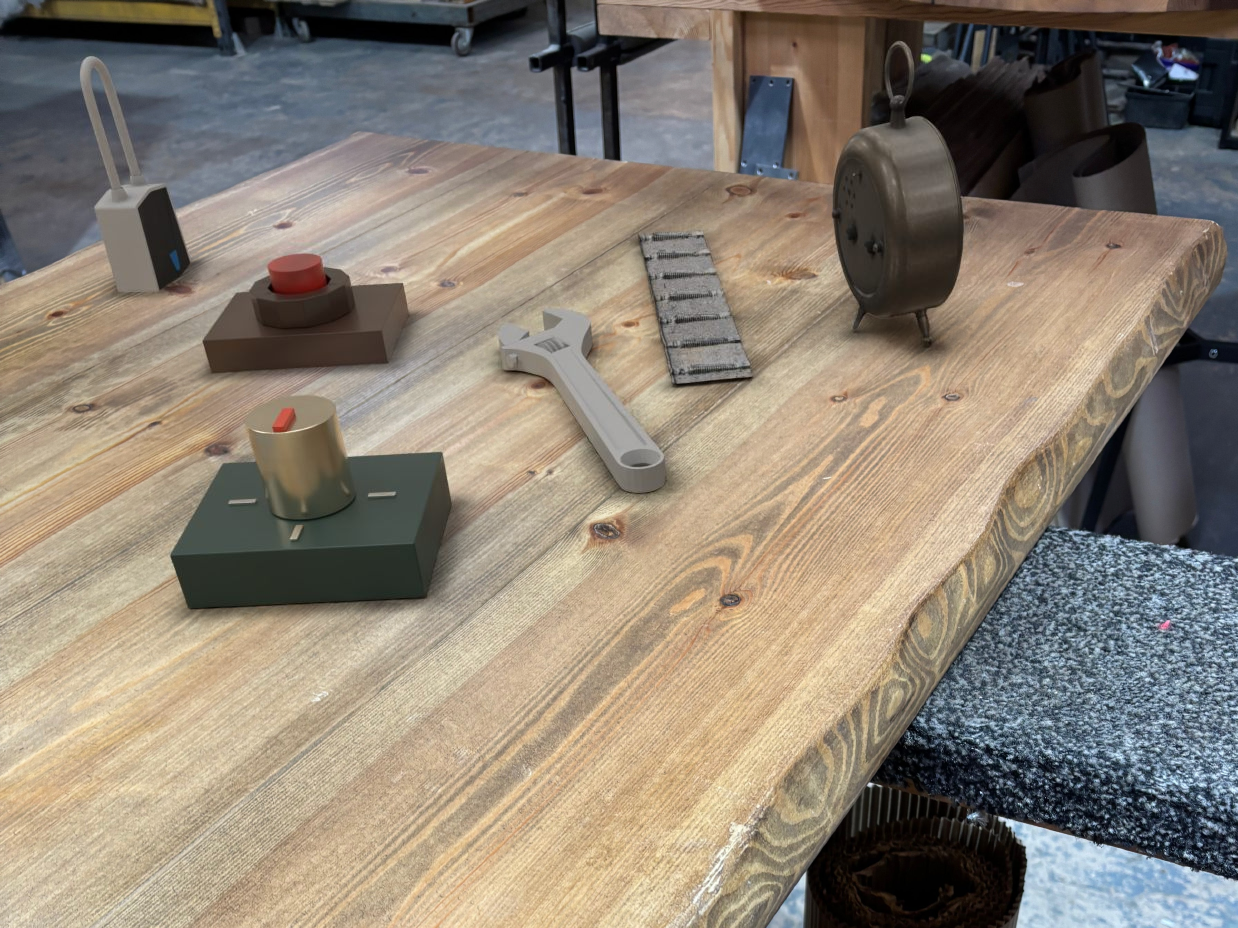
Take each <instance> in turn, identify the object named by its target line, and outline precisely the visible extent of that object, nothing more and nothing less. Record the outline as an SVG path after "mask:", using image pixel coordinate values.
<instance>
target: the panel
mask: <svg viewBox="0 0 1238 928" xmlns="http://www.w3.org/2000/svg"><path fill="white" fill-rule="evenodd" d="M347 457H348V462H349V466H350V470H351V475H352V479H353V483H354V487H355V497H354V499H353V501H352V502H351V503H350V504H349V505H347V506H346V507H345V508H343V509H341V510H339V511H337V512H335V513H333V514H330V515H327V516H323V517H319V518H314V519H305V520H293V519H285V518H281V517H279V516H276V515H275V514H273V513H272V512H271V511H270V509H269V507H268V503H267V500H266V496H265V493H264V489H263V486H262V482H261V478H260V475H259V471H258V468H257V464H256V461H240V462H239V461H238V462H237V461H236V462H223V463H222V464H221V466H220V467H219V469H218V471H217V472H216V474H215V476H214V478H213V479H212V481H211V483H210V484H209V487H208V488H207V490H206V492H205V493H204V495H203V496H202V499H201V500H200V502H199V503H198V505H197V507H196V509H195V511H194V512H193V514H192V515H191V518H190V519H189V521H188V523H187V525H186V526H185V528H184V530H183V531H182V533H181V535H180V536H179V538H178V540H177V542H176V544H175V545H174V547H173V549H172V550H171V552H170V554H169V557H170V560H171V563H172V566H173V569H174V571H175V574H176V577H177V581H178V584H179V586H180V588H181V592H182V594H183V598H184V600H185V603H186V606H187V608H188V609H204V608H225V607H227V608H228V607H246V606H270V605H271V606H272V605H286V604H287V605H288V604H289V605H291V604H311V603H313V604H314V603H331V602H332V603H333V602H352V601H353V602H355V601H374V600H375V601H376V600H377V601H378V600H398V599H399V600H400V599H419V598H426V596H427V592H428V589H429V584H430V581H431V578H432V574H433V571H434V567H435V565H436V559H437V557H438V553H439V549H440V545H441V542H442V539H443V535H444V531H445V528H446V524H447V520H448V518H449V513H450V511H451V506H452V502H453V501H452V496H451V492H450V486H449V480H448V474H447V469H446V463H445V459H444V453H443V451H429V452H410V453H409V452H408V453H391V454H390V453H389V454H374V455H373V454H371V455H355V456H354V455H353V456H352V455H351V456H347Z"/></svg>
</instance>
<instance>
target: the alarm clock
mask: <svg viewBox="0 0 1238 928" xmlns="http://www.w3.org/2000/svg"><path fill="white" fill-rule="evenodd" d="M897 49H902V50H903V53H904V55H905V57H906V60H907V67H908V68H907V69H908V85H907V90H906V93H905V96H904V95H900V94H897V95H894V94H893V91H892V87H891V80H890V65H891V62H892V61H891V60H892V58H893V55H894V54H895V51H896V50H897ZM914 82H915V63H914V58H913V54H912V51H911V49H910V47H909V46H908V45H907V44H906V43H905V41H901V40H897V41H895V42H894V43H893V44H892V45H891V46H890V48H889V49H888V51H887V53H886V58H885V62H884V85H885V89H886V93H887V96H888V99H889V100H890V101H889V107H890V109H891V112H890V120H889V122H886V123H882V124H876V125H871V126H868V127H865V128H864V127H863V128H861V129H859V130H858V131H856V132H854V134H853V135H851V136H850V138H849V139H848V140H847V142H846V143H845V144H844V147H843V149H842V150H841V152H840V155H839V158H838V161H837V164H836V168H835V173H834V177H833V178H834V179H833V187H832V211H831V219H832V222H833V230H834V239H835V245H836V249H837V254H838V259H839V263H840V266H841V269H842V272H843V275H844V278H845V282H846V283H847V285H848V288H849V290H850V291H851V293H852V295H853V297H854V299H855V300H856V301H857V305H858V306H859V307H858V309H857V313H856V316H855V319H854V321H853V324H852V327H851V329H852V331H853V332H855V331H857V330H858V328H859V327H860V324H861V323H862V320H863V319H864V317H865V316H866V314H868V315H871V316H873V317H874V318H878V319H883V320H887V319H893V318H897V317H902V316H905V315H910V314H914V316H915V319H916V323H917V327H918V329H919V332H920V333H921V335H922V339H921V344H922V346H923V347H925V348H927V347H930V346H932V344H933V338H932V337H931V328H930V327H931V326H930V321H929V317H928V314H927V313H928V312H927V311H928V310H930V309H936V308H939V307H941V306H942V305H944V303H945V302H946V301H947V300H948V299H949V297H950V296H951V294H952V292H953V290H954V288H955V286H956V283H957V280H958V278H959V273H960V269H961V263H962V257H963V249H964V234H965V226H964V225H965V224H964V223H965V222H964V210H963V201H962V194H961V187H960V183H959V178H958V177H959V176H958V174H957V169H956V165H955V162H954V160H953V157H952V155H951V151H950V149H949V147H948V146H947V142H946V140H945V138H944V136H943V135H942V134H941V133H942V132H940V130H939V129H938V128H937V127H936V125H934V124H933V123H932V122H931V121H929V120H928V119H927V118H925V117H923V116H919V115H913V116H911V117H909V118H906V114H905V108H906V107H907V102H908V100H909V98H910V97H911V95H912V93H913V86H914Z"/></svg>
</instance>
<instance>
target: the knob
mask: <svg viewBox="0 0 1238 928" xmlns="http://www.w3.org/2000/svg"><path fill="white" fill-rule="evenodd" d="M244 425H245V428H246V433H247V436H248V441H249V443H250V446H251V451H252V454H253V457H254V460H255V461H254V462H256V464H257V468H258V471H259V475H260V478H261V482H262V486H263V489H264V493H265V496H266V500H267V503H268V507H269V509H270V511H271V512H272V513H273V514H275V515H276V516H279V517H281V518H285V519H293V520H305V519H314V518H319V517H323V516H327V515H330V514H333V513H335V512H337V511H339V510H341V509H343V508H345V507H346V506H347V505H349V504H350V503H351V502H352V501H353V499H354V497H355V487H354V483H353V479H352V475H351V470H350V466H349V462H348V457H349V456H348V454H347V453H348V452H347V450H346V446H345V445H346V444H345V441H344V440H345V439H344V436H343V432H342V428H341V424H340V420H339V415H338V410H337V407H336V405H335V403H334V402H333V401H332V400H331V399H329V398H327V397H324V396H319V395H312V394H301V395H290V396H284V397H279V398H276V399H272V400H269V401H266V402H263V403H262V404H259V405H258V406H255V407H254V408H253V409H251V410H250V411H249V412H248V413H247V414H246V415H245V417H244Z"/></svg>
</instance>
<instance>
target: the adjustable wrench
mask: <svg viewBox="0 0 1238 928" xmlns="http://www.w3.org/2000/svg"><path fill="white" fill-rule="evenodd" d="M541 313H542V321H543V322H542V323H543V329H544V330H543V331H540V332H539V333H535V334H531V335H530V330H528V329H526V328H523V327H521V326H519V325H516V324H513V323H511V322H505V323H503V324H502V325H501V326H500V327H499V329H498V332H497V338H498V343H499V354H500V359H501V367H502V370H505V371H519V372H525V373H529V374H533V375H537V376H540V377H543V378H545V379H546V380H547V381H549V382H550V383H551V384H552V385H553V386H554V388H555V389H556V391H557V392H558V394H559V396H560V397H561V398H562V400H563V401H564V403H565V405H566V406H567V407H568V409H569V411H570V412H571V414H572V415H573V417H574V418H575V421H576V422H577V423H578V425H579V427H580V428H581V429H582V430H583V433H584V434H585V435H586V437H587V439H588V440H589V442H590V443H591V444H592V446H593V448H594V449H595V450H596V452H597V454H598V455H599V457H600V458H601V460H602V461H603V463H604V465H605V466H606V468H607V469H608V471H609V473H610V474H611V475H612V477H613V478H614V480H615V481H616V483H617V485H618V486H619V487H620V488H621V489H622V490H624V491H625V492H629V493H635V494H638V493H639V494H643V493H649V492H650V493H651V492H653V491H656V490H659V489H661V488H662V487H664V485H665V483H666V465H665V455H664V453H663V451H662V450H661V448H659V447H658V445H657V443H655V442H654V440H653V439H652V438H651V437H650V436H649V434H648V433H647V432H646V431H645V429H643V427H642V426H641V425H640V424H639V422H638V421H637V420H636V418H635V417H634V416H633V415H632V413H631V412H630V411H629V410H628V409H627V408H626V406H625V405H624V404H623V403H622V401H621V400H620V399H619V398H618V396H617V395H616V394H615V393H614V392H613V391H612V389H611V388H610V387H609V386H608V384H607V383H606V382H605V381H604V379H603V378H602V377H601V375H599V373H598V372H597V371H596V370H595V368H594V367H593V366H592V364H590V363H589V361H588V360H587V358H588V355H589V353H590V351H591V349H592V347H593V333H592V325H591V324H592V323H591V319H590V318H589V316H587V315H586V314H584V313H583V312H580V311H577V310H572V309H565V308H545V309H542V310H541Z"/></svg>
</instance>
